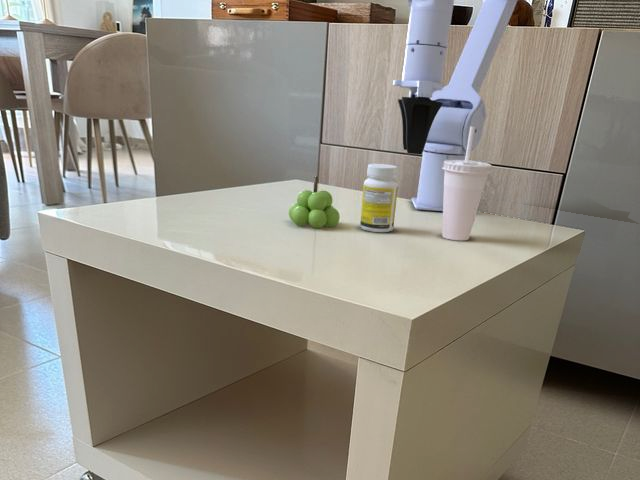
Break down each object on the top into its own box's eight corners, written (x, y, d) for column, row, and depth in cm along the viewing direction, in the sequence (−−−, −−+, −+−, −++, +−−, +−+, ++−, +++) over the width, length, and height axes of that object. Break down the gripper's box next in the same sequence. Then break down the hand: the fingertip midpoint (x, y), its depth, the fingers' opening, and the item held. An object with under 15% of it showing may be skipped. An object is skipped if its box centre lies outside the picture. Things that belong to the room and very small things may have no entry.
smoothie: (426, 237, 86) (442, 124, 79) (440, 230, 91) (456, 123, 84) (471, 245, 84) (492, 129, 77) (483, 237, 89) (504, 128, 82)
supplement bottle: (373, 224, 92) (379, 162, 88) (399, 230, 89) (407, 167, 85) (352, 228, 88) (358, 164, 84) (379, 234, 86) (386, 168, 82)
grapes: (285, 218, 91) (287, 171, 88) (330, 219, 93) (334, 173, 90) (294, 229, 85) (296, 179, 82) (342, 230, 86) (346, 181, 83)
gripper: (395, 48, 94) (383, 146, 101) (401, 39, 81) (387, 153, 88) (441, 52, 94) (427, 150, 100) (455, 44, 81) (438, 157, 88)
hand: (412, 152), depth 94 cm, fingers open, 7 cm apart
